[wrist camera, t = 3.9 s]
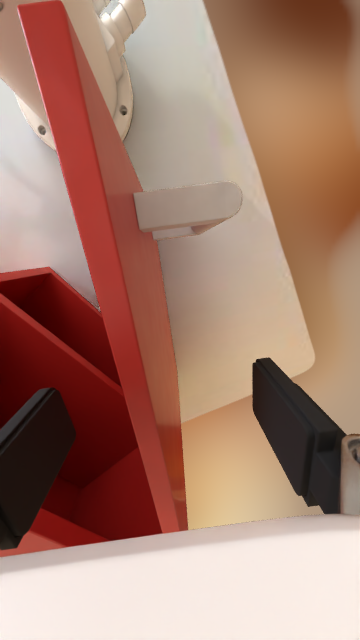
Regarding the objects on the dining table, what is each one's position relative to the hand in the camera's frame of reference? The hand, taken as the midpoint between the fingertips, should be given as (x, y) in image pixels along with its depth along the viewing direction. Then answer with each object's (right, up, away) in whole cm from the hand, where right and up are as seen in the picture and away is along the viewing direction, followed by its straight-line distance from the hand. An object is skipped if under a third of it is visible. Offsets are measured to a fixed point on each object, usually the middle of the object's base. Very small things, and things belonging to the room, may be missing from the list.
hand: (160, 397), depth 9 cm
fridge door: (+1, +7, +21) cm, 22 cm away
